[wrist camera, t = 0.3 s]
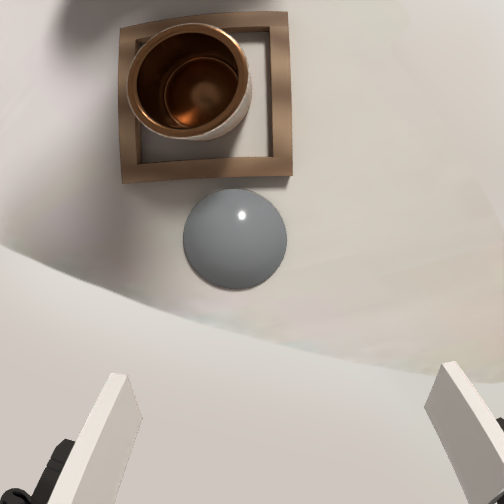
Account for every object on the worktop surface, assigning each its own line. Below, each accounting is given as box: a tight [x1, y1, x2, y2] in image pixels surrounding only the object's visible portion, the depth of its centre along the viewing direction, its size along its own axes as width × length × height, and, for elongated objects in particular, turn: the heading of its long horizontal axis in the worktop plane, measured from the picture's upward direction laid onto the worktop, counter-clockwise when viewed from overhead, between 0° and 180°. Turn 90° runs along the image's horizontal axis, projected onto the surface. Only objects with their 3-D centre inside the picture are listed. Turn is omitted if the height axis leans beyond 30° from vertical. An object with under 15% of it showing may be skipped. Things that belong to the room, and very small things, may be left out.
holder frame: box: [118, 11, 293, 184], centre depth 31 cm, size 19×19×2 cm
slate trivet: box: [183, 188, 287, 289], centre depth 37 cm, size 12×12×1 cm
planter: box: [126, 23, 252, 141], centre depth 28 cm, size 11×11×10 cm
